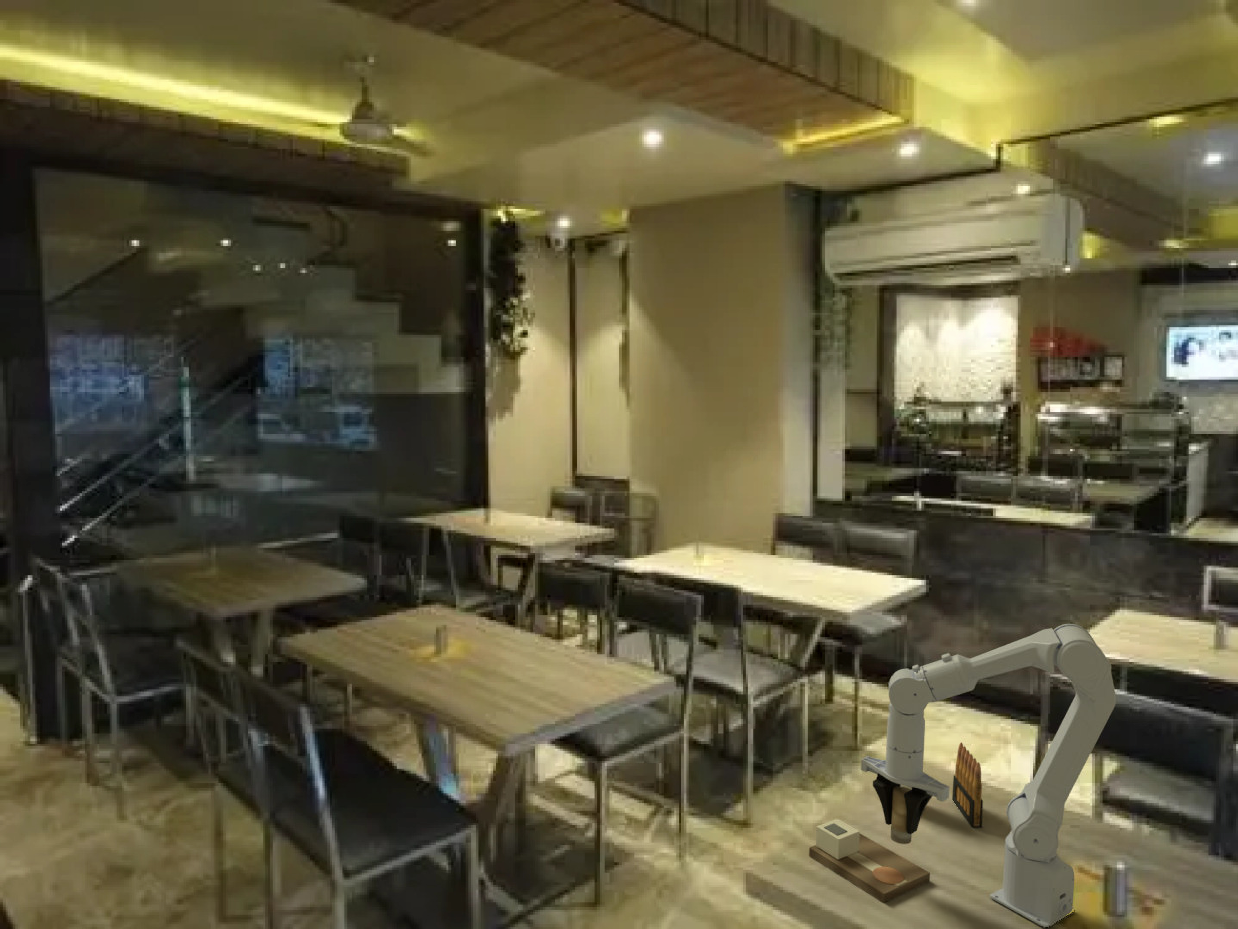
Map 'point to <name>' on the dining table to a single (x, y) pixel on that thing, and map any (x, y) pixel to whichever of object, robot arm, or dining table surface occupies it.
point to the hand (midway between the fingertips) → (901, 827)
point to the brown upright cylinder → (899, 817)
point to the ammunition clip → (968, 787)
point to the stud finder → (837, 838)
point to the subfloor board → (875, 869)
